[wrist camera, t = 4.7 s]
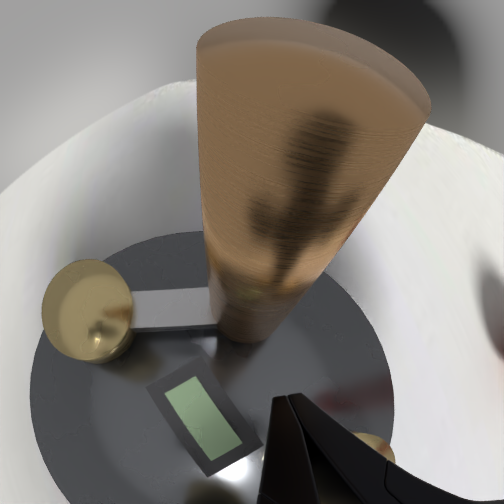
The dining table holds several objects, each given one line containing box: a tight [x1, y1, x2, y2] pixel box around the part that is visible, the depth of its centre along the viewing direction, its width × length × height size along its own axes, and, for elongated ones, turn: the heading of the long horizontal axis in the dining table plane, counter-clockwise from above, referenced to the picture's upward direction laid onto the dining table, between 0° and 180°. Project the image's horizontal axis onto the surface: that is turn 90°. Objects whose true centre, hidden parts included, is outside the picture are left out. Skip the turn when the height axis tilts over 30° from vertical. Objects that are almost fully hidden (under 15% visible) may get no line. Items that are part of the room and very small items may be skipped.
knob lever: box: [42, 17, 431, 364], centre depth 9 cm, size 12×5×13 cm, turn 97°
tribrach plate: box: [30, 231, 395, 504], centre depth 12 cm, size 20×20×3 cm
